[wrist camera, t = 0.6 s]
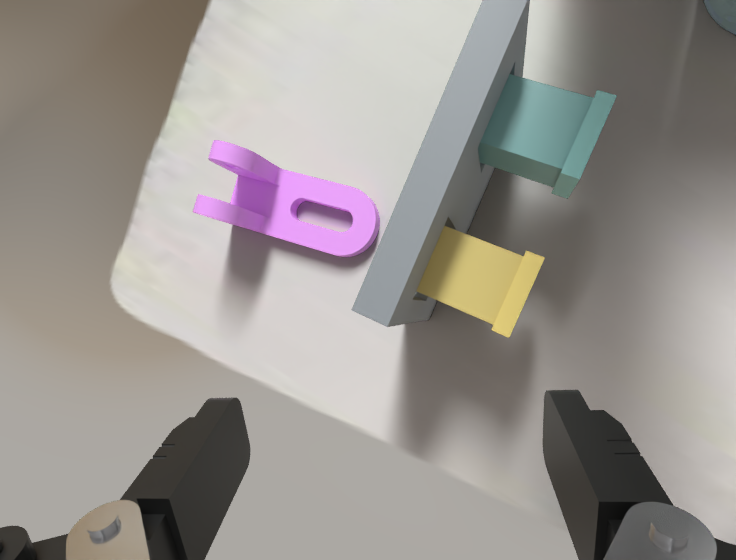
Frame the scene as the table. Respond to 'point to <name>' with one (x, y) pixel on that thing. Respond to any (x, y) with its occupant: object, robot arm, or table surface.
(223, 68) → the table surface
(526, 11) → the panel
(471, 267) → the mustard button
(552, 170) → the teal button
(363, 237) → the bracket
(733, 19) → the teal cup
